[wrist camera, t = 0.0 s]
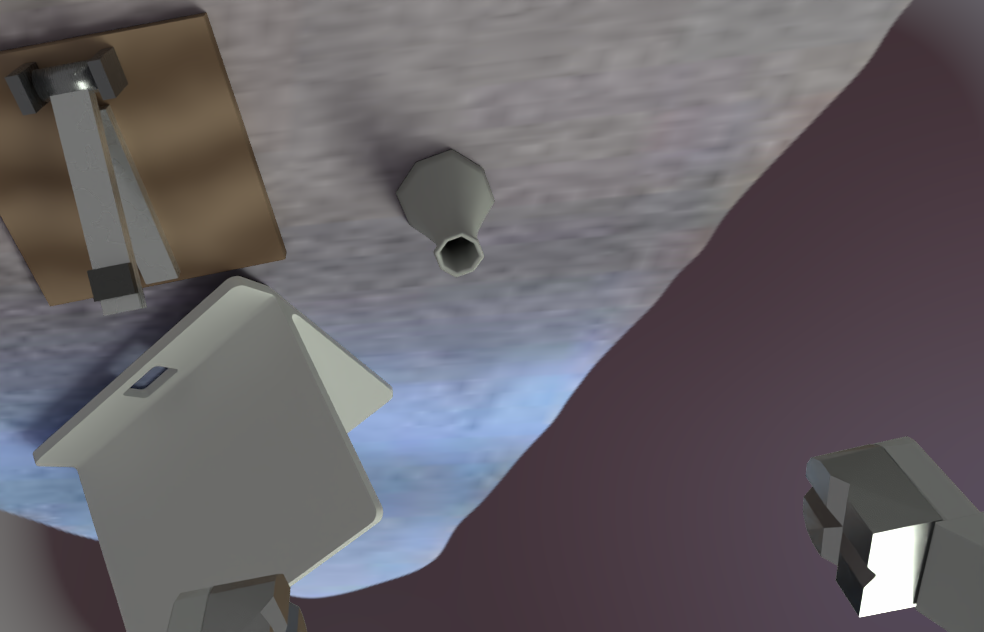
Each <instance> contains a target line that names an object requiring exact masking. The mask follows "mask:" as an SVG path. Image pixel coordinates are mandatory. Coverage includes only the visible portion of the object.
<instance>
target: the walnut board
mask: <svg viewBox="0 0 984 632" xmlns="http://www.w3.org/2000/svg"><path fill="white" fill-rule="evenodd" d="M110 47H114V49H115V52H116V54H117V57H118V59H119V61H120V64H121V66H122V69H123V71H124V74H125V76H126V79H127V81H128V85H127V86H126V87H125V88H124V89H123V90H122V92H121V93H120V94H119V95H118V96H117V97H116V98H113V99H108V100H103V99H102V96H101V94H100V92H96V93H95V94H96V98H97V102H98V106H99V107H101V106H106V105H110V107H111V109H112V111H113V114H114V116H115V118H116V121H117V123H118V125H119V128H120V130H121V132H122V135H123V137H124V139H125V142H126V144H127V147H128V149H129V151H130V154H131V156H132V158H133V161H134V163H135V165H136V168H137V170H138V172H139V175H140V177H141V179H142V182H143V184H144V186H145V189H146V191H147V194H148V196H149V198H150V201H151V203H152V205H153V208H154V210H155V212H156V215H157V217H158V219H159V222H160V224H161V226H162V229H163V231H164V233H165V236H166V238H167V241H168V243H169V245H170V248H171V250H172V252H173V255H174V257H175V259H176V262H177V264H178V266H179V269H180V271H181V272H180V275H179V277H178V278H176V279H171V280H166V281H161V282H156V283H151V284H146V283H145V281H144V279H143V277H142V274H141V272H140V270H139V268H138V266H137V268H138V272H139V276H140V281H141V285H142V288H144V287H149V286H154V285H159V284H164V283H169V282H174V281H179V280H184V279H189V278H194V277H199V276H204V275H209V274H214V273H219V272H224V271H229V270H234V269H239V268H244V267H249V266H254V265H259V264H264V263H269V262H274V261H279V260H284V259H285V258H286V249H285V246H284V243H283V240H282V237H281V234H280V231H279V228H278V225H277V222H276V219H275V216H274V213H273V210H272V207H271V204H270V201H269V198H268V195H267V192H266V189H265V186H264V183H263V180H262V177H261V174H260V171H259V168H258V165H257V162H256V159H255V156H254V153H253V150H252V147H251V144H250V141H249V138H248V135H247V132H246V129H245V126H244V123H243V120H242V117H241V114H240V111H239V108H238V105H237V102H236V99H235V96H234V93H233V90H232V87H231V84H230V81H229V79H228V76H227V73H226V70H225V67H224V64H223V61H222V58H221V55H220V52H219V49H218V46H217V43H216V40H215V37H214V34H213V31H212V28H211V25H210V22H209V19H208V16H207V13H201V14H196V15H190V16H185V17H180V18H174V19H169V20H164V21H158V22H153V23H148V24H142V25H137V26H132V27H127V28H121V29H116V30H111V31H105V32H100V33H95V34H89V35H84V36H79V37H73V38H68V39H63V40H57V41H52V42H47V43H41V44H36V45H31V46H25V47H20V48H15V49H9V50H4V51H0V216H1V217H2V219H3V221H4V223H5V225H6V227H7V228H8V230H9V232H10V234H11V236H12V237H13V239H14V241H15V243H16V245H17V247H18V248H19V250H20V252H21V254H22V256H23V258H24V259H25V261H26V263H27V265H28V267H29V269H30V270H31V272H32V274H33V276H34V278H35V280H36V281H37V283H38V285H39V287H40V289H41V291H42V292H43V294H44V296H45V298H46V300H47V302H48V303H49V305H50V306H54V305H59V304H64V303H69V302H74V301H79V300H84V299H89V298H93V294H92V290H91V286H90V282H89V278H88V274H87V271H88V270H92V265H91V261H90V257H89V253H88V249H87V245H86V241H85V237H84V233H83V229H82V225H81V221H80V217H79V213H78V209H77V205H76V201H75V197H74V192H73V188H72V184H71V180H70V176H69V172H68V168H67V164H66V160H65V156H64V152H63V148H62V144H61V140H60V136H59V132H58V128H57V124H56V119H55V115H54V111H53V107H52V103H51V101H49V102H48V103H47V104H46V105H45V106H43V107H42V108H41V109H40V110H39V111H38V112H37V113H35V114H29V115H24V116H23V114H22V112H21V110H20V108H19V106H18V104H17V102H16V100H15V98H14V96H13V94H12V92H11V90H10V88H9V86H8V84H7V82H6V80H5V78H4V77H6V76H7V75H9V74H10V73H11V72H13V71H14V70H16V69H17V68H18V67H20V66H21V65H22V64H25V63H31V62H36V63H37V65H38V67H39V69H41V68H46V67H51V66H57V65H62V64H67V63H73V62H78V61H83V60H88V59H91V58H92V57H93V56H94V55H95V54H96V53H97V52H99V51H100V50H101V49H105V48H110ZM136 264H137V263H136Z"/></svg>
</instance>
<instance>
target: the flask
mask: <svg viewBox="0 0 984 632" xmlns="http://www.w3.org/2000/svg"><path fill="white" fill-rule="evenodd" d="M396 194H397V197H398V199H399V201H400V204H401V206H402V208H403V211H404V213H405V215H406V218H407V220H408V222H409V225H411V226H412V227H413V228H415V229H416V230H418V231H419V232H421V233H422V234H424V235H425V236H426V237H428V238H429V239H430V240H431V241H433V242H434V243H435V244H436V245H437V247H436V248H435V250H434V255H435V257H436V259H437V262H438V264H439V267H440V269H441V270H443V271H445V272H447V273H449V274H451V275H453V276H454V277H459V276H461V275H464V274H467V273H470V272H473V271H474V270H475V269H476V267H477V266H478V265H479V263H480V262H481V261H482V259H483V258H484V254H483V252H482V249H481V246H480V244H479V241H478V239H477V233H478V230H479V228H480V226H481V224H482V222H483V220H484V219H485V217H486V215H487V214H488V212H489V210H490V209H491V207H492V205H493V204H494V202H495V200H494V198H493V195H492V192H491V189H490V186H489V183H488V180H487V178H486V175H485V172H484V169H483V168H482V167H480V166H478V165H477V164H475V163H473V162H472V161H470V160H469V159H467V158H465V157H464V156H462V155H460V154H459V153H457V152H456V151H454V150H452V149H451V150H449V151H446V152H443V153H441V154H438V155H435V156H432V157H430V158H427V159H424V160H421V161H419V162H416V163H415V165H414V166H413V168H412V169H411V171H410V172H409V174H408V175H407V177H406V178H405V180H404V181H403V183H402V184H401V186H400V187H399V189H398V190H397V192H396Z"/></svg>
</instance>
